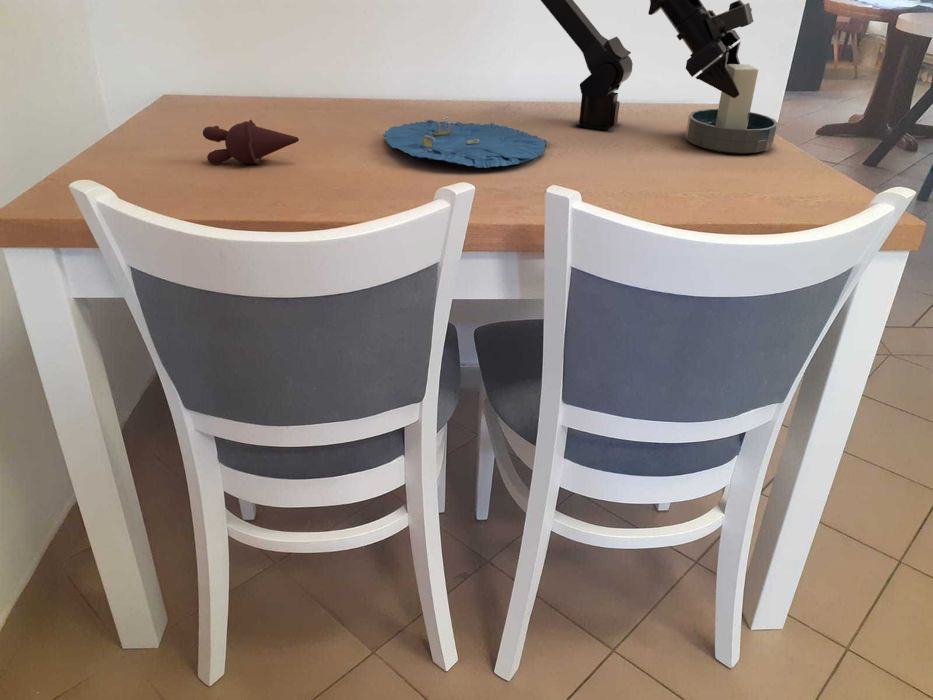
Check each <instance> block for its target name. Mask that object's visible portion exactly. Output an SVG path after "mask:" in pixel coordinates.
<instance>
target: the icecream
mask: <svg viewBox="0 0 933 700" xmlns="http://www.w3.org/2000/svg"><path fill="white" fill-rule="evenodd" d="M202 136H203V137H204V138H205V140H208V141H211V142H215V143H220V142H224V143H225V144H224V145H225V148H220V149H219V148H218V149H215V150H212V151H210V152H208V154H207V156H206V159H207V161H208V163H210V164H222V163H225V162H227V161H229V160H230V159H232V158H233V159H234V160H235V161H237V162H239V163H242V164H250V165H254V164H256V165H260V164H261V161H262V158H264V157H266V156H268V155H271V154H273V153H275V152H277V151H279V150H282V149H284V148H286V147H288V146H291V145H293V144H295V143H298V142H300V141H299V137H297V136H295V135H291V134H287V133H283V132H279V131H275V130H272V129H268V128H264V127H261V126H257V125H256V123H254V121H253V120H252V119H249V120H248V121H246V120H245V121H243V122H239V123H235V124H234V125H233V126H231V127H230V128H229V129H228V130H226V129H224V128H220V127H219V125H214V126H206V127H204V128H203V130H202Z"/></svg>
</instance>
